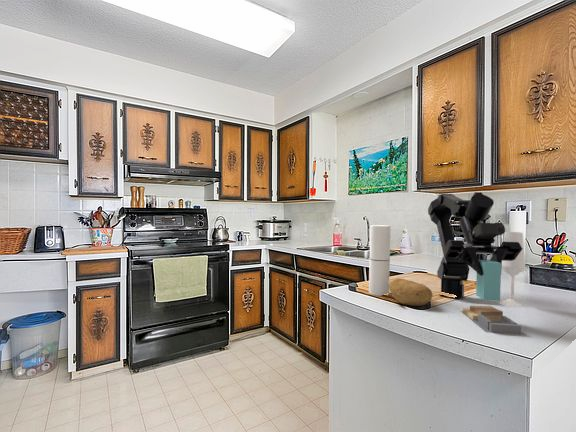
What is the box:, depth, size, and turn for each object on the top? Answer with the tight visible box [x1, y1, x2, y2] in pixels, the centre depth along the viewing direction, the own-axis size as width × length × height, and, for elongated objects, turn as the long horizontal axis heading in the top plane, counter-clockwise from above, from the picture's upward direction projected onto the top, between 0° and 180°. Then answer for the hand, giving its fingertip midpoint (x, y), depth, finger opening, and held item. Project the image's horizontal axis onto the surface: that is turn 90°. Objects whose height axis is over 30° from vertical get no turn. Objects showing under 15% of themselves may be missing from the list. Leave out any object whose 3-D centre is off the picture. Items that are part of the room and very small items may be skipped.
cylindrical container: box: [368, 224, 391, 297], centre depth 111 cm, size 7×7×25 cm
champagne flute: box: [498, 231, 526, 308], centre depth 100 cm, size 7×7×24 cm
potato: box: [389, 278, 434, 307], centre depth 98 cm, size 10×14×8 cm
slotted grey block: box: [460, 310, 527, 336], centre depth 81 cm, size 16×9×3 cm, turn 171°
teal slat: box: [475, 259, 502, 302], centre depth 83 cm, size 4×4×10 cm
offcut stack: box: [461, 305, 504, 322], centre depth 85 cm, size 7×8×2 cm
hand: (490, 275), depth 81 cm, fingers closed on teal slat, 4 cm apart
